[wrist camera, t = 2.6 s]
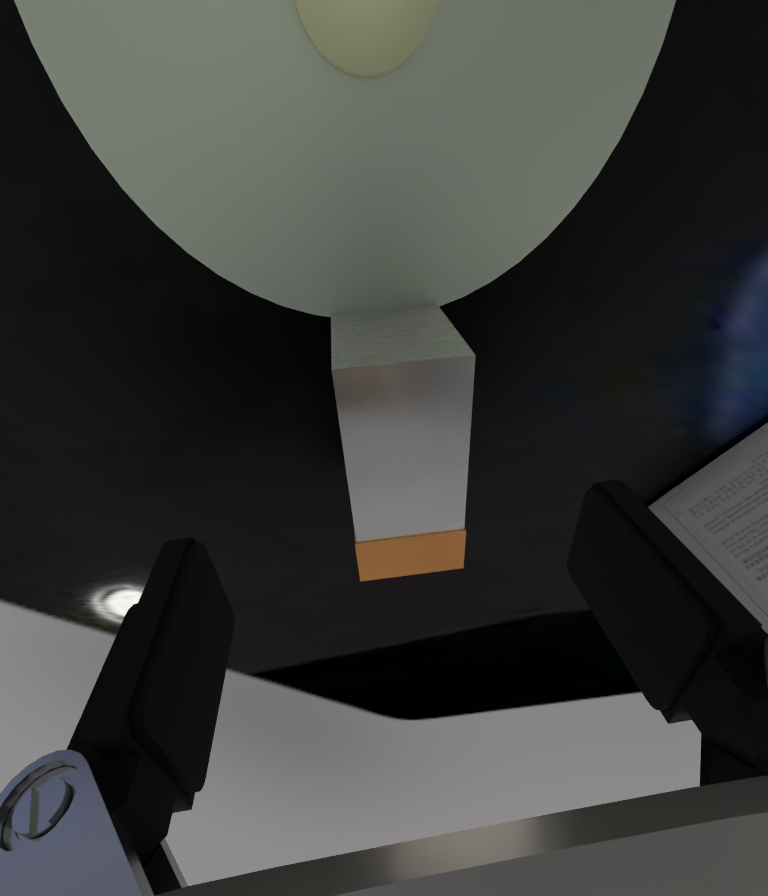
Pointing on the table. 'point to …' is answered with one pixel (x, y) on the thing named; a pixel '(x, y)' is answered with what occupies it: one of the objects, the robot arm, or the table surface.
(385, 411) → the orange-tipped grey block
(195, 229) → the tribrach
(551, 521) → the table surface
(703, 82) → the table surface
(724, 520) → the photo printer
